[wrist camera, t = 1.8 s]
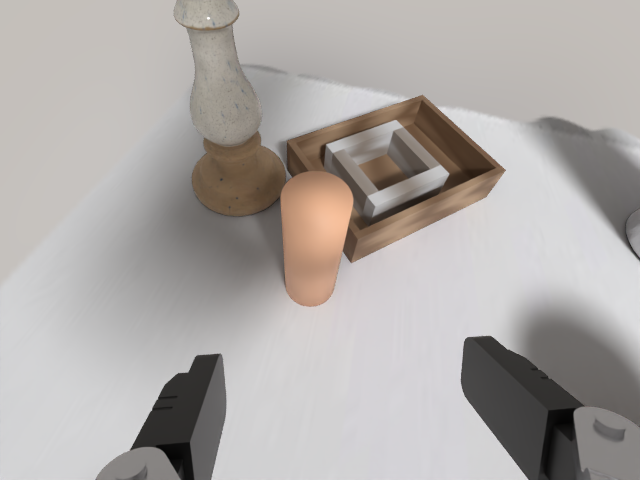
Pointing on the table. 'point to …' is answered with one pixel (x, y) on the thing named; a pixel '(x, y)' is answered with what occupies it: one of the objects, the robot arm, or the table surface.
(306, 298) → the peg
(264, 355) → the table surface
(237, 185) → the candle holder
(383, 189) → the box
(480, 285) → the table surface
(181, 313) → the table surface
